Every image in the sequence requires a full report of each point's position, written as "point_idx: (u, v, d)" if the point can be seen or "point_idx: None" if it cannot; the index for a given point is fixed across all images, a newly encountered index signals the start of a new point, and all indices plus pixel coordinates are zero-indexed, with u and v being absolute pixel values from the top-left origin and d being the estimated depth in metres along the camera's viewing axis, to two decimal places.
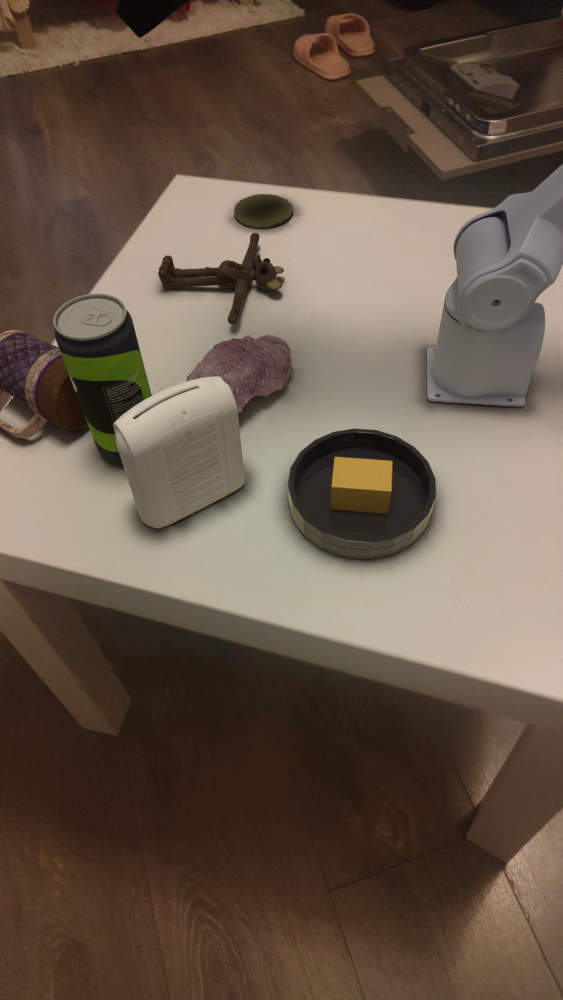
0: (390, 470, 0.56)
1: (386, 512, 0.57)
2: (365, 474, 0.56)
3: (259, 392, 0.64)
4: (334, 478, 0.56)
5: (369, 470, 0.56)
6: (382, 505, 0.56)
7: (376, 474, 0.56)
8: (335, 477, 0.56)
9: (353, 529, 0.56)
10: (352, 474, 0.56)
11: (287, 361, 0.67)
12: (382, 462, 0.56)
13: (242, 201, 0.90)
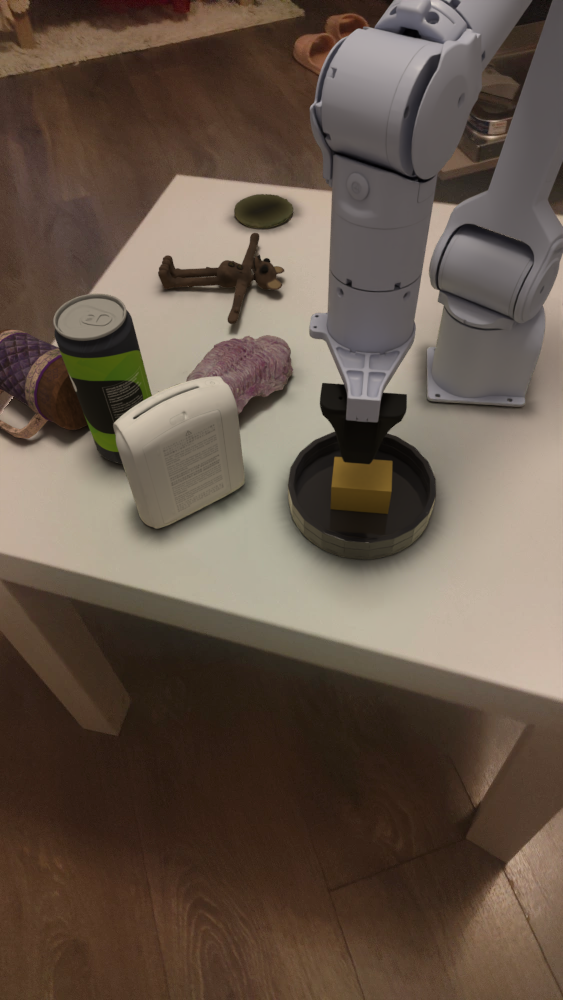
0: (390, 470, 0.56)
1: (386, 512, 0.57)
2: (365, 474, 0.56)
3: (259, 392, 0.64)
4: (334, 478, 0.56)
5: (369, 470, 0.56)
6: (382, 505, 0.56)
7: (376, 474, 0.56)
8: (335, 477, 0.56)
9: (353, 529, 0.56)
10: (352, 474, 0.56)
11: (287, 361, 0.67)
12: (382, 462, 0.56)
13: (242, 201, 0.90)
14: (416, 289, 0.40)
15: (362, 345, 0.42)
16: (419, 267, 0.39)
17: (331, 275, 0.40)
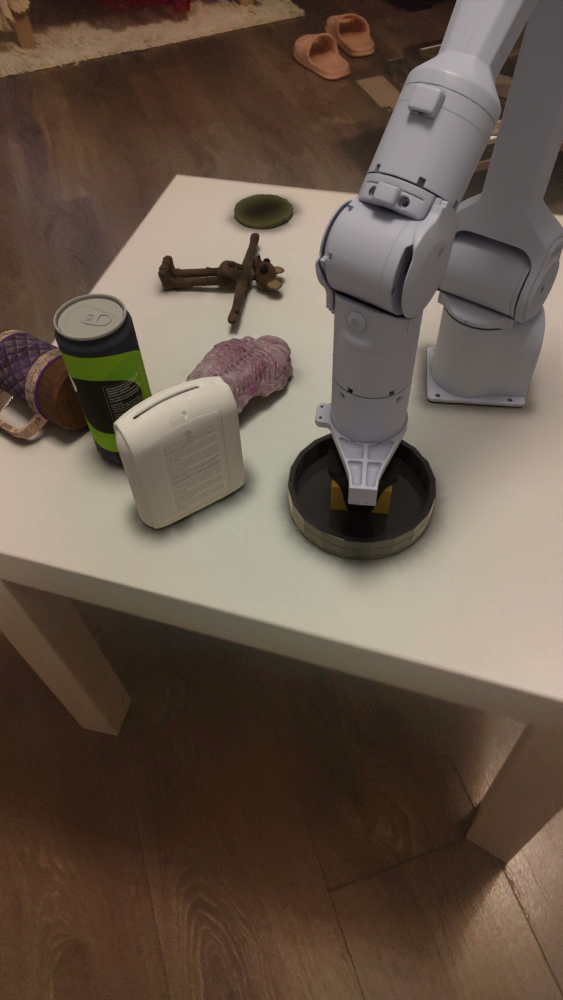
0: None
1: (386, 512, 0.57)
2: None
3: (259, 392, 0.64)
4: None
5: None
6: (382, 505, 0.56)
7: None
8: None
9: (353, 529, 0.56)
10: None
11: (287, 361, 0.67)
12: None
13: (242, 201, 0.90)
14: (407, 392, 0.46)
15: (361, 437, 0.48)
16: (410, 376, 0.45)
17: (334, 380, 0.47)
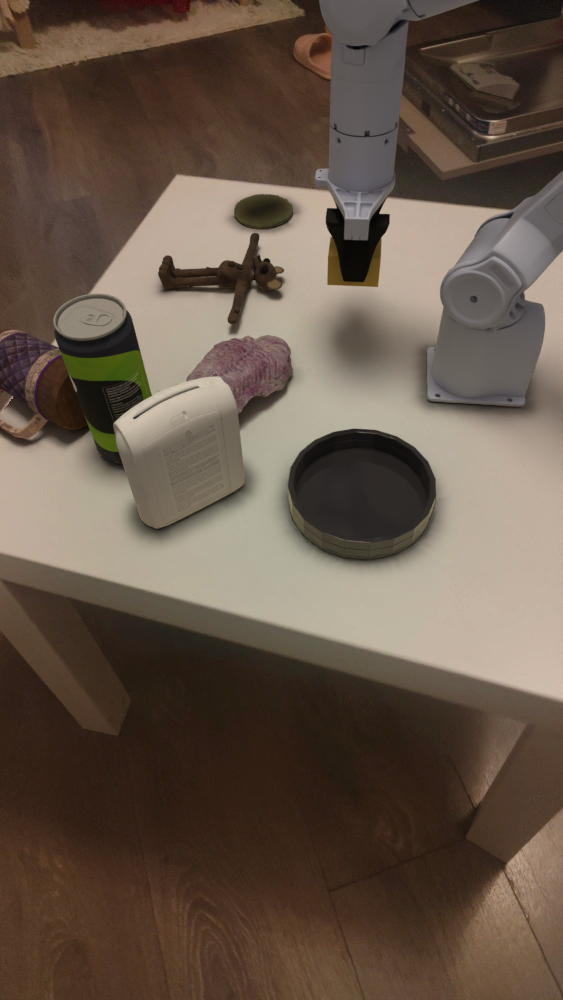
0: (379, 244, 0.64)
1: (376, 285, 0.65)
2: None
3: (259, 392, 0.64)
4: (330, 250, 0.63)
5: None
6: (373, 276, 0.64)
7: None
8: (331, 250, 0.63)
9: (353, 529, 0.56)
10: None
11: (287, 361, 0.67)
12: None
13: (242, 201, 0.90)
14: (394, 138, 0.54)
15: (355, 185, 0.56)
16: (352, 126, 0.52)
17: (331, 129, 0.54)
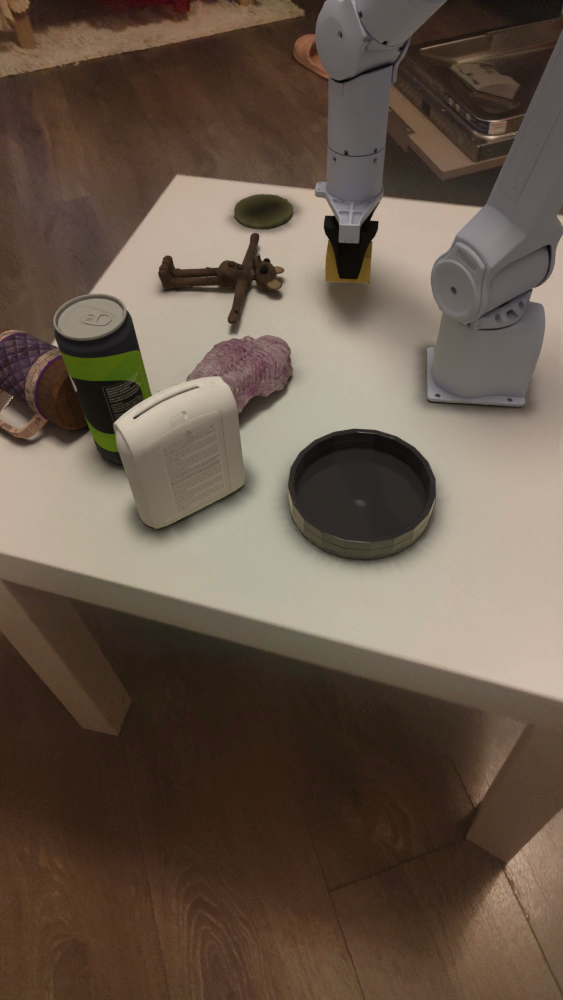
0: (370, 246, 0.73)
1: (367, 281, 0.74)
2: None
3: (259, 392, 0.64)
4: (328, 251, 0.73)
5: None
6: (364, 274, 0.74)
7: None
8: (328, 251, 0.73)
9: (353, 529, 0.56)
10: None
11: (287, 361, 0.67)
12: None
13: (242, 201, 0.90)
14: (381, 157, 0.64)
15: (349, 196, 0.66)
16: (335, 144, 0.63)
17: (328, 149, 0.64)
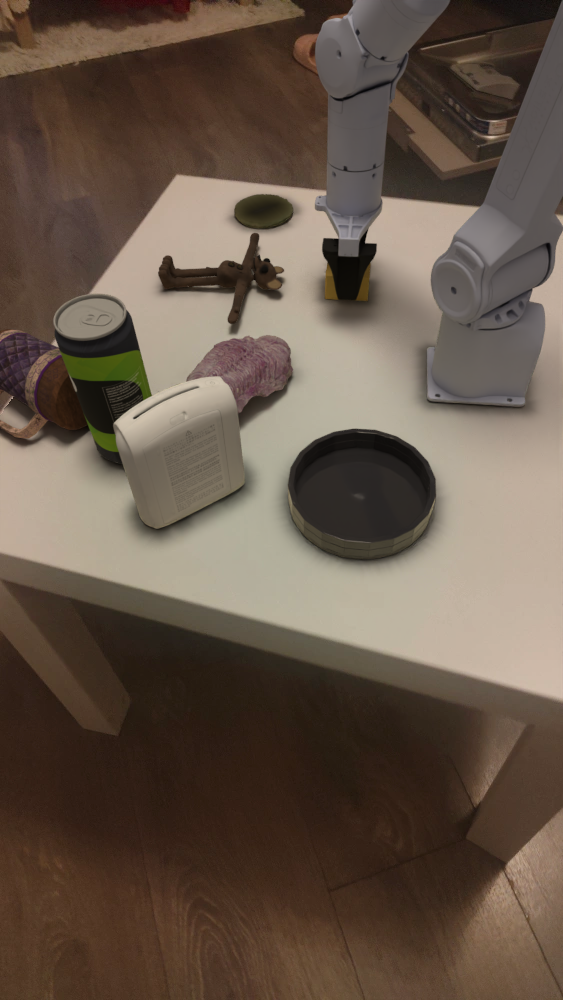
0: (369, 265, 0.75)
1: (366, 299, 0.76)
2: None
3: (259, 392, 0.64)
4: (327, 270, 0.75)
5: None
6: (363, 292, 0.76)
7: None
8: (328, 270, 0.75)
9: (353, 529, 0.56)
10: None
11: (287, 361, 0.67)
12: None
13: (242, 201, 0.90)
14: (380, 172, 0.65)
15: (348, 210, 0.67)
16: (335, 160, 0.64)
17: (328, 164, 0.65)
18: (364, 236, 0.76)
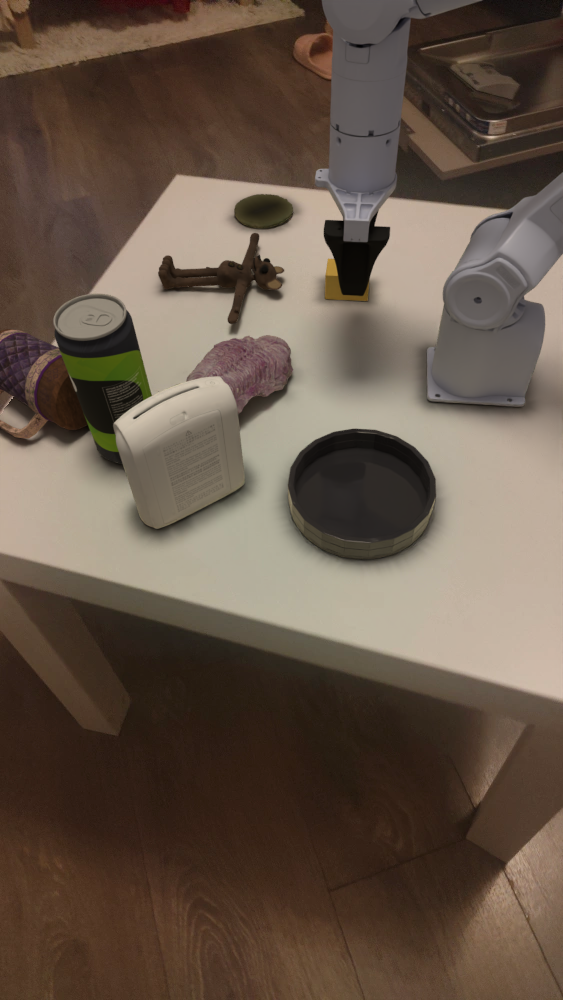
0: None
1: (366, 299, 0.76)
2: None
3: (259, 392, 0.64)
4: (327, 270, 0.75)
5: None
6: None
7: None
8: (328, 270, 0.75)
9: (353, 529, 0.56)
10: None
11: (287, 361, 0.67)
12: None
13: (242, 201, 0.90)
14: (396, 138, 0.53)
15: (356, 186, 0.55)
16: (356, 126, 0.51)
17: (331, 128, 0.53)
18: (373, 220, 0.64)
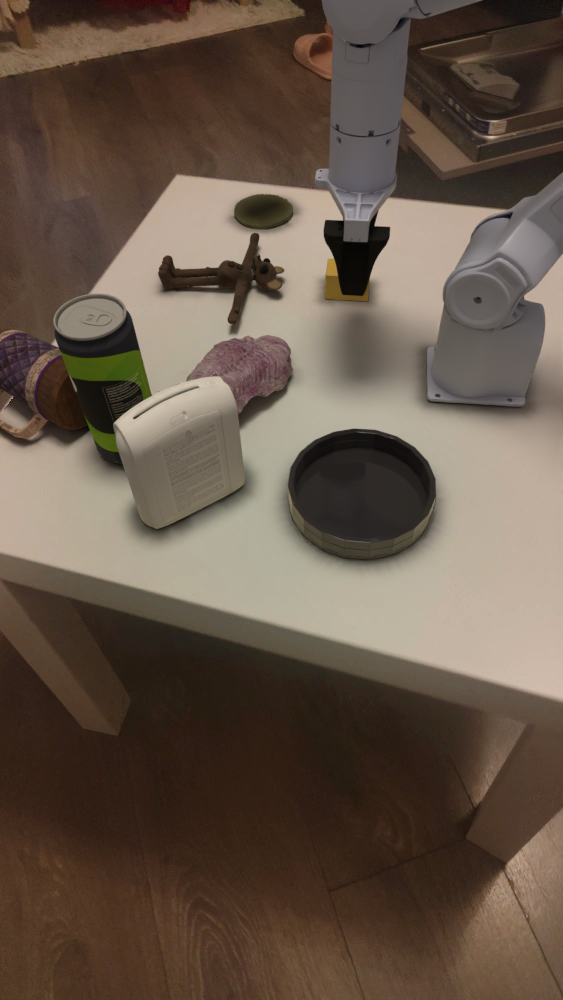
0: None
1: (366, 299, 0.76)
2: None
3: (259, 392, 0.64)
4: (327, 270, 0.75)
5: None
6: None
7: None
8: (328, 270, 0.75)
9: (353, 529, 0.56)
10: None
11: (287, 361, 0.67)
12: None
13: (242, 201, 0.90)
14: (396, 138, 0.53)
15: (356, 186, 0.55)
16: (356, 126, 0.51)
17: (331, 128, 0.53)
18: (373, 220, 0.64)
